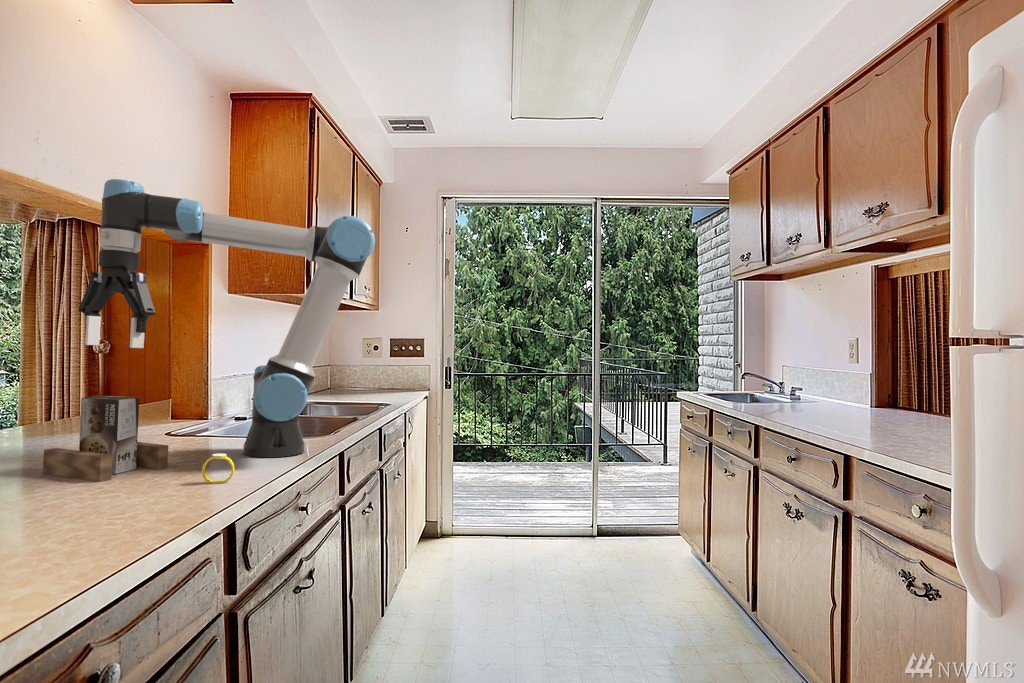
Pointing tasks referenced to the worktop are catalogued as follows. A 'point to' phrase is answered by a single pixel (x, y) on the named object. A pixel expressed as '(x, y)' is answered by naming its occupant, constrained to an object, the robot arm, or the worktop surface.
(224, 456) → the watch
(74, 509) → the worktop surface
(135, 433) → the coffee box
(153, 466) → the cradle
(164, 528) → the worktop surface
